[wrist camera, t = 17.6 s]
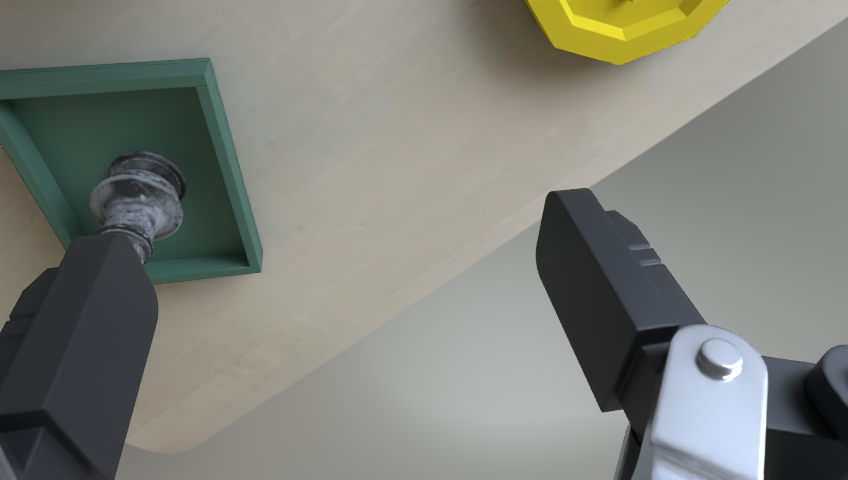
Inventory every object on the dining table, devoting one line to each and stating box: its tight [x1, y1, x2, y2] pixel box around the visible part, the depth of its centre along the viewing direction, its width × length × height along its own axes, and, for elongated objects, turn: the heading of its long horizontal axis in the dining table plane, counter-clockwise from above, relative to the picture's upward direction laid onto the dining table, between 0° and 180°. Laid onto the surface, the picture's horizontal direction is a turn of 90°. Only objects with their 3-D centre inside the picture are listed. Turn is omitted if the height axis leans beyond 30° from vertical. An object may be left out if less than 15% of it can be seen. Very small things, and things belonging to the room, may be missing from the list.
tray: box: [0, 58, 263, 285], centre depth 39 cm, size 18×14×3 cm
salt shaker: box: [89, 151, 187, 265], centre depth 35 cm, size 6×6×12 cm
